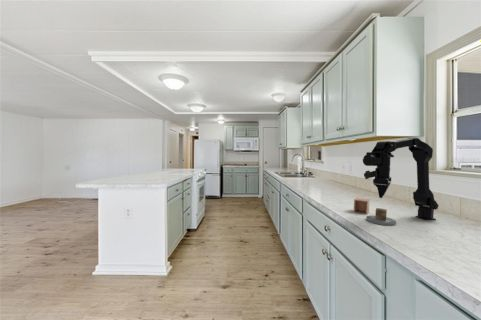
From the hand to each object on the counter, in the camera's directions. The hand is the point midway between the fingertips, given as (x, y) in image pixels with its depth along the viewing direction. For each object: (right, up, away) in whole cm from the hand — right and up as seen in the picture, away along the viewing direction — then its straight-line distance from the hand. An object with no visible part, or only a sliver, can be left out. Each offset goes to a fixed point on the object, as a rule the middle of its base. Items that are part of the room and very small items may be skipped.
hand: (381, 196), depth 116 cm
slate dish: (0, -13, +1) cm, 13 cm away
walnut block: (0, -12, +1) cm, 12 cm away
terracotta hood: (0, -12, +19) cm, 22 cm away
